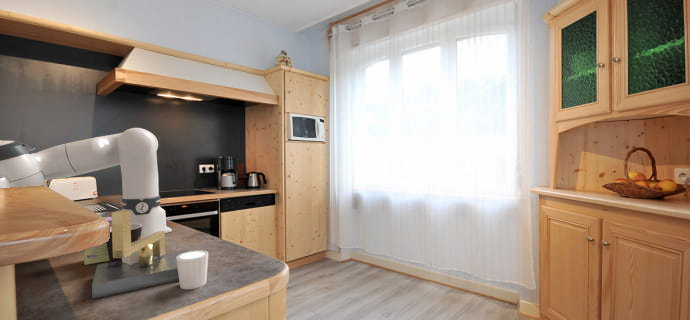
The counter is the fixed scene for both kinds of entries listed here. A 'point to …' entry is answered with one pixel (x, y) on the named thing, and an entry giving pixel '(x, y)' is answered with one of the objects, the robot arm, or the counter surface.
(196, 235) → the counter surface
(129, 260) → the cover
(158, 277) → the dark grey base plate
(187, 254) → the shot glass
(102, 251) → the box
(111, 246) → the coffee mug
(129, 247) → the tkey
